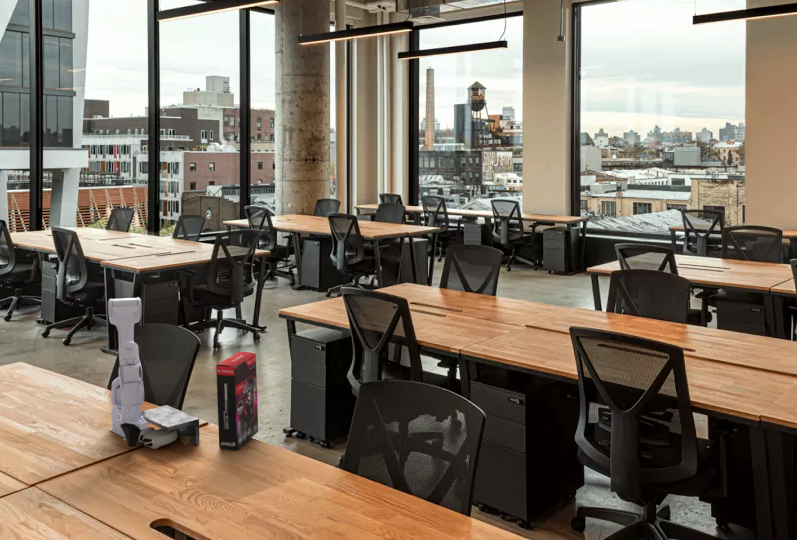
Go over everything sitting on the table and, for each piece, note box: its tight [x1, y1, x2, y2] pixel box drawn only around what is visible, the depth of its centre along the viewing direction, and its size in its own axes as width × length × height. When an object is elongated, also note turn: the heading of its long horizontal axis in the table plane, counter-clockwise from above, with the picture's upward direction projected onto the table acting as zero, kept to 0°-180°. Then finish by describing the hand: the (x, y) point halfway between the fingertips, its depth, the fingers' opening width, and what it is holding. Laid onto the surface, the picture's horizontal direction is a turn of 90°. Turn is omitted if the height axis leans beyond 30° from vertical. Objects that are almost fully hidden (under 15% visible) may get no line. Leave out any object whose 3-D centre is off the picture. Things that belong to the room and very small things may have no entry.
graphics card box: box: [215, 350, 259, 451], centre depth 237 cm, size 17×7×27 cm, turn 168°
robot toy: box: [122, 426, 183, 450], centre depth 235 cm, size 12×4×15 cm
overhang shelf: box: [142, 404, 201, 446], centre depth 237 cm, size 19×11×8 cm, turn 48°
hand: (132, 446), depth 229 cm, fingers closed
